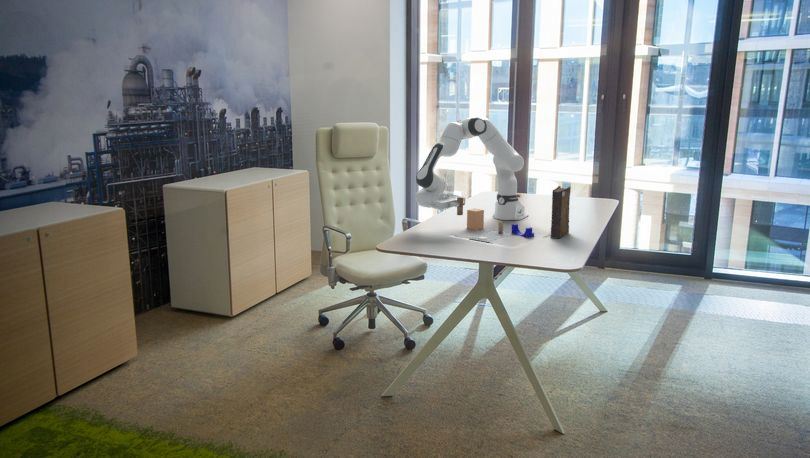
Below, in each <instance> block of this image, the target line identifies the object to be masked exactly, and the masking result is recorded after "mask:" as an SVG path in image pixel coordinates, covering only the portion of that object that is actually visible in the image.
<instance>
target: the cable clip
mask: <svg viewBox="0 0 810 458" xmlns="http://www.w3.org/2000/svg"><path fill="white" fill-rule="evenodd" d="M510 233H511V234H512V235H517V236H520V237H523V238H527V239H528V238H534V237H535V233H534V232H533V227H531V226H530V227H526V228H525V230H524V233H522V232H521V230H520V228H519V223H512V224H511V232H510Z"/></svg>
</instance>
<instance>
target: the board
mask: <svg viewBox="0 0 810 458" xmlns="http://www.w3.org/2000/svg"><path fill="white" fill-rule="evenodd" d="M497 224H498V226H497V227H498V228H497V229H498V230H492V231H488V232H485V233H480V234H478V235H474V236H471V237H469V241H473V242H474V241H476V242H479V243H485V244H492V241H496V240H498V239H501V238H505V237H508V236H511V235H513V234H512V233H511V232H507V231H506V232H505V231H504V222H503V221H502V220H501V221H500V220H499V221H498V222H497Z"/></svg>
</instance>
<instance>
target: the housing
mask: <svg viewBox="0 0 810 458" xmlns="http://www.w3.org/2000/svg"><path fill="white" fill-rule="evenodd" d="M484 217H485V209H481V208H470V209H467V210H466V229H467V230H468V229H469V230H474V231H478V230H482V229H484V225H485V224H484V223H485V222H484V219H485V218H484Z"/></svg>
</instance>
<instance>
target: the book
mask: <svg viewBox="0 0 810 458" xmlns="http://www.w3.org/2000/svg"><path fill="white" fill-rule="evenodd" d="M551 195H552V197H551V202H552V203H551V204H552V205H551V220H550V221H551V223H550V224H551V226H550V238H555V239H561V238H563V237H564V236H566V235H568V234H569V233H570V225H569V223H570V199H571V196H570V195H571V186H568V187H567V188H564V187H561V186H560V185H558V186H557V187H556V188H555V189H552V192H551Z"/></svg>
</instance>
